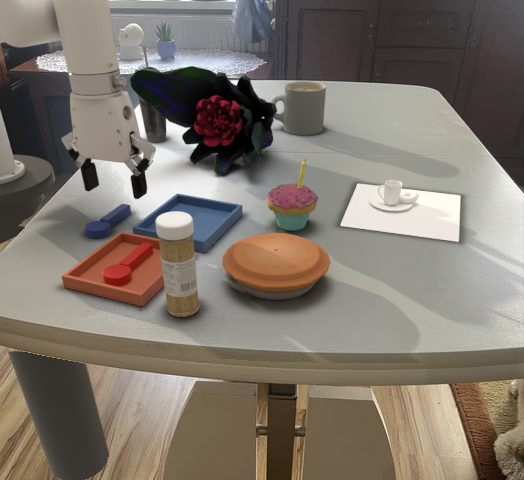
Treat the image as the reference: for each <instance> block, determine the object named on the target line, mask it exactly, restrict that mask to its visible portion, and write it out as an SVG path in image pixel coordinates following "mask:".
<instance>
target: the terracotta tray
mask: <svg viewBox="0 0 524 480" xmlns="http://www.w3.org/2000/svg"><path fill="white" fill-rule="evenodd" d="M142 243H149V244H152V247H153V254H152V255H151V256H149V257H148V258H147V259H146V260H145V261H144V262H143V263H141V264H140V265H139V266H138V267H137V268H136V269H135V270H134V271H132V272H131V275H132V279H131V281H130V282H129V283H127V284H125V285H122V286H111V285H107V284H106V283H105V282H104V278H103V270H104V269H105V268H106V267H108V266H111V265H115V264H119V262H121V261H122V260H123V259H124V258H125V257H127V256H128V255H129V254H130V253H131V252H133V251H134V250H135V249H136V248H137V247H139V246H140V245H141V244H142ZM61 280H62V285H63V287H64V288H66V289H70V290H74V291H78V292H82V293H86V294H90V295H95V296H98V297H102V298H107V299H109V300H114V301H119V302H123V303H128V304H130V305H134V306H138V307H144V306H146V304H147V303H148V302H150V300H151V299H153V297H154V296H155V295H157V294H158V292H160V291H161V290H162V289H163V288H164V279H163V271H162V263H161V252H160V243H159V239H156V238H151V237H146V236H142V235H137V234H133V232H127V231H123V230H120V231H119V232H118V233H116V234H115V235H114V236H112V237H111V238H110V239H108V240H107V241H106V242H104V243H103V244H102V245H100V246H99V247H97V248H96V249H95V250H94V251H92V252H91V253H90V254H88V255H87V256H86V257H84V258H83V259H82V260H81V261H79V262H78V263H76V264H75V265H73V267H71V268H69V269H68V270H67V271H66V272H64V273H63V274H62V275H61Z"/></svg>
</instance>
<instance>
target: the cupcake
mask: <svg viewBox="0 0 524 480" xmlns="http://www.w3.org/2000/svg"><path fill="white" fill-rule="evenodd" d="M307 159H308V158H307V157H305V158H304V161H302V162H301V168H300V172H299V177H298V180H297V182H295V183H282V184H279V185H277V186H275V187H274V188H272V189H271V190H270V191H268V195H267V198H266V203H267V209H269V211H272V212H273V215H274V217H275V219H276V223H277V226H278V227H279V228H280V229H281V230H284V231H290V232H294V231H295V232H296V231H300V230H303V229H304V228H305V227H306V225H307V221H308V219H309V216H310V215H311V213H312V212H314V211H315V210H316V209H317V205H318V201H319V197H318V196H317V194H316V193H315V192H314V190H313V189H311V188H310V187H309V186H307V185H305V184H303V181H304V176H305V171H306V168H307V162H306V161H307Z"/></svg>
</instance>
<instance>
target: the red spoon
mask: <svg viewBox="0 0 524 480" xmlns="http://www.w3.org/2000/svg"><path fill="white" fill-rule="evenodd" d="M152 254H153V247H152V244H149V243H142V244H141V245H140V246H139V247H137V248H136V249H135V250H134V251H133V252H131V253H130V254H129V255H128V256H127V257H125V258H124V259H123V260H122V261H121V262H119V264H115V265H111V266H108V267H106V268H105V269H104V270H103V278H104V282H105V283H106V284H107V285H111V286H122V285H125V284H127V283H129V282H130V281H131V279H132V275H131V272H132V271H134V270H135V269H136V268H137V267H138V266H139V265H140V264H141V263H143V262H144V261H145V260H146V259H147V258H148V257H149V256H151V255H152Z"/></svg>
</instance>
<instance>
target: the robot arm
mask: <svg viewBox="0 0 524 480" xmlns="http://www.w3.org/2000/svg"><path fill="white" fill-rule="evenodd" d="M113 26H114V25H113V20H112V12H111V6H110V1H109V0H0V44H3V43H5V44H7V45H9V46H11V47H15V48H27V47H28V48H29V47H33V46H38V45H39V46H40V45H43V44H48V43H49V44H50V43H56V42H61V46H62V50H63V55H64V60H65V64H66V70H67V74H68V75H67V76H68V79H69V83H70V89H71V92H70V93H69V109H70V119H71V127H72V131H70V132H68V133H67V134H65V135H64V136H62V137H61V139H60V140H61V142H62V144H63V146H64V148H65V149H66V150H67V154H68V156H69V157H70V158H72V160H73V161H74V162H75V165H76V167H77V168H78V169H80V173H81V178H82V182H83V187H84V190H85V192H91V191H93V190H94V189H96V188H98V186H100V181H99V177H98V176H99V175H98V171H97V167H96V164H95V162H92V161H93V160H98V161H103V162H113V163H120V164H125V166H126V167H127V168H128V169H129V171H130V172H131V173H132V174H131V175H130V184H131V189H132V195H133V198H134V199H135V200H140V199H141V198H142V197H144V196H145V195H147V194H148V182H147V177H146V171H148V169H149V167H150V166H151V165H152V164H153V162H154V158H155V154H156V152H157V148H156V146H155V145H153V144H152V143H151V142H149V141H148V140H147V139H144V138H143V137H141V132H140V127H139V124H138V119H137V115H136V112H135V108H134V105H133V102H132V99H131V96H130V95H129V92H128V91H125V90H124V88H127V86H128V78H127V77H125V76H122V75H121V70H120V63H119V58H118V51H117V45H116V44H117V43H116V39H115V33H114V27H113ZM9 139H10V138H9V136H8V132H7V128H6V124H5V121H4V118H3V114H2V111H1V109H0V185H1V184H5V183H9V182H11V181H14V180H16V179H18V178H20V177H21V176H22V175H24V173H25V167H24V164H23V163H21V162H20V161H17V160H14V157H13V155H14V154H13V151H12V147H11V142H10V140H9ZM141 154H143V156H142V157H141V156H140V155H141Z"/></svg>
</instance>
